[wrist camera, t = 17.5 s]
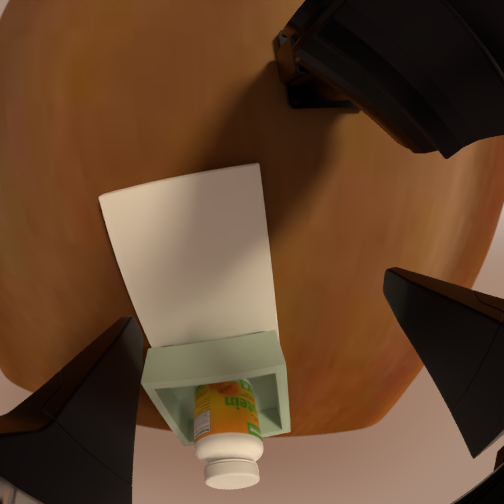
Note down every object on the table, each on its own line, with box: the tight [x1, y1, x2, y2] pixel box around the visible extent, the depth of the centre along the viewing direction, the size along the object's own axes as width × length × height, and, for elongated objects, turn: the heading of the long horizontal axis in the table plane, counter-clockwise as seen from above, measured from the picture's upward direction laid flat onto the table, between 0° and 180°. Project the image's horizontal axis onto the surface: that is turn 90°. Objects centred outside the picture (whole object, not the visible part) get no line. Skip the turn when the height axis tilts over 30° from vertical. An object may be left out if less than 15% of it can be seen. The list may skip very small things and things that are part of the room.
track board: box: [99, 163, 279, 348], centre depth 23 cm, size 12×28×4 cm, turn 8°
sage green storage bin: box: [141, 330, 291, 446], centre depth 23 cm, size 11×11×6 cm
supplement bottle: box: [194, 378, 263, 489], centre depth 19 cm, size 5×5×10 cm
